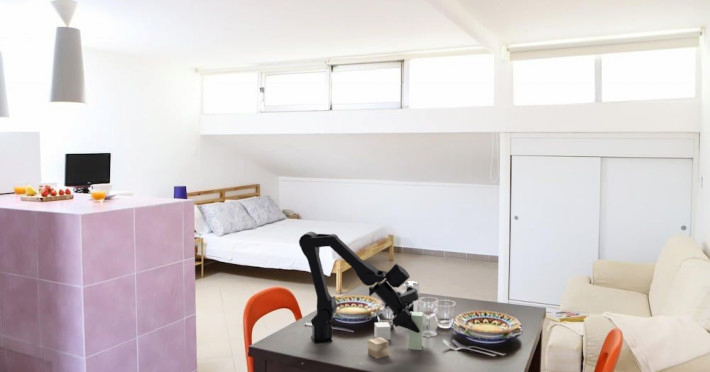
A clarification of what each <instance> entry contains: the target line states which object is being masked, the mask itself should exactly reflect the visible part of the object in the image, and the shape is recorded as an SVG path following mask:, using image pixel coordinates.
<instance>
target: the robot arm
mask: <svg viewBox="0 0 710 372" xmlns="http://www.w3.org/2000/svg"><path fill="white" fill-rule="evenodd" d="M298 245H299V247H300V249H301V251H302V254H303V255H304V257H306V259H307V262H308V266H309V270H310V274H311V277H312V278H311V279H312V282H313V285H314V291H315V294H316V297H317V298H316V312H317V313H316V314H315V315H314V316H313V318H311V320H310V322H311V325H312V327H311V332H312V333H311V336H310V338H311V339H312V341H313V343H315V344H318V343H329V342H332V341H333V326H332V323H331V320H332V319H333V318H334V316H335V314H336V313H337V310H338V307H339V305H338V304H337V300H336V296H335V295H334V296H332V295H331V294H330V293H329V289H328V285H327V282H326V277H325V273H324V269H323V265H322V261H321V258H320V248H325V247H330V248H331V249H332V250H333V251H334V252H335V253H336V254H337V255H338V256H339V257H341V259H342V260H343V261H344V262H346V263H347V264H348V265H349V266H350V267H351V269H353V270H354V272H355V275H356V276H357V277H358V278H359V280H360V281H361V282H362V284H363V285H365V286H367V287H368V286H369V287H368V291H369V293H368V295H369V297H371V296H372V295H373V294H376V296H377V297H378V298H379V299H380V300H381V301H382V302H383V303H384V307H385V308H388V309H390V311H391V312H392V316H393V317H392V325H394V326H395V328H397V327H402V328H405V329H406V330H407V329H408V331H409V330H412V331H414V332H416V333H419V332H420V330H419V328H418V327H417V325H416V324H415V322H414V321H413V320H412V312H414V304H413V305H412V306H410V304H412V303H413V301H416V300H418V299H419V300H420V294H419V295H418V293H417V290H416V289H415V288H413V287H411V286H409V287H407V292H405V293H402V292H400V291H396V290H395V289H396V288H397V289H399V288H400V287H401V286H403V283H404V282H407V280H409V279H410V278H411V276H410V274H409V273H408V271H407V270H406V269H405V268H403V266H402V265H399V264H398V263H395V264H393V266H392V267H391V268H390V269H389V270H387V271H386V270H382V269H378V268H376V267H375V266H374V265H372V264H371V263H369V262H367V261H366V260H363V259H361V257H360V256H358V255H357V254H356V252H354V251H353V250H352V248H350V247H349V245H347V244H346V243H345V242H344V241H343V240H341V239H340V238H339V236H338V235H337V234H335V233H331V234H330V233H329V234H327V233H316V232H313V231H308V232H306V233H304V234H302V235H301V237H300V238H299V240H298ZM394 288H395V289H394ZM410 311H412V312H411V313H410Z"/></svg>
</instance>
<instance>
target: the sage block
mask: <svg viewBox="0 0 710 372" xmlns="http://www.w3.org/2000/svg"><path fill="white" fill-rule="evenodd" d="M411 312H412V311H410V313H411ZM412 320H413V321H414V322H415V324H416V325H417V327H418V328H419V330H420V332H419V333H416V332H414V331H412V330H409V329H408V349H409V350H418V351H422V349H423V331H424V330H423V328H424V327H423V326H424V311H423V312H421V311H417V312H412Z"/></svg>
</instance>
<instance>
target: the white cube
mask: <svg viewBox="0 0 710 372" xmlns="http://www.w3.org/2000/svg"><path fill="white" fill-rule="evenodd" d="M373 330H374V333H373V334H374V335H373V336H374V338H378V337H381V338H383V339H385V340H387V341H390V340H391V325H390V323H389V322H388V321H387V322H386V321H385V322H382V321H381V322H374V329H373Z"/></svg>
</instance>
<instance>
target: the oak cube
mask: <svg viewBox="0 0 710 372" xmlns="http://www.w3.org/2000/svg"><path fill="white" fill-rule="evenodd" d="M389 341H390V340H385V339H383V338H381V337H378V338H375V337H374V338H371V339H368V340H367V344H368V345H367V354H368V355H369V354H370V355H369V356H371V357H373V358H374V357H375V359H376V360H377V359H381V358H385V357H389V354H390V352H389V351H390V349H389V348H390V347H389V345H390V342H389Z"/></svg>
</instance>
